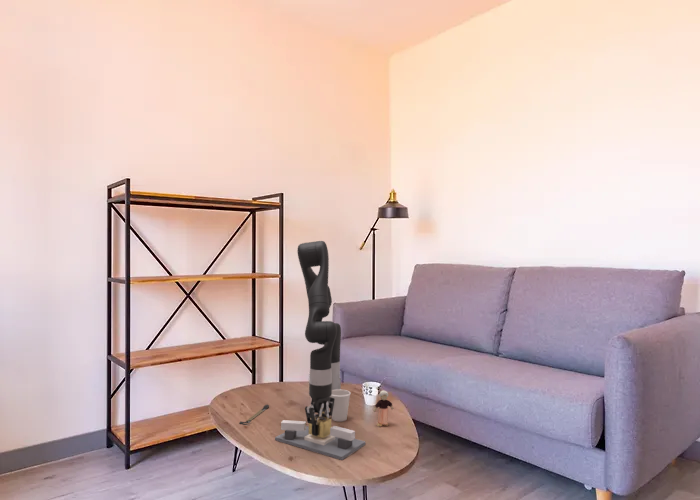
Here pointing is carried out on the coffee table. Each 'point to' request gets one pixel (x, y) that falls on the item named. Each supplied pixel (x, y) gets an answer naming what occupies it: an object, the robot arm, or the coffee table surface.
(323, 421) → the yellow plus-sign block
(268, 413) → the coffee table surface
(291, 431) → the lever control panel
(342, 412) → the dixie cup
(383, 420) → the grandmother figurine
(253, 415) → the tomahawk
